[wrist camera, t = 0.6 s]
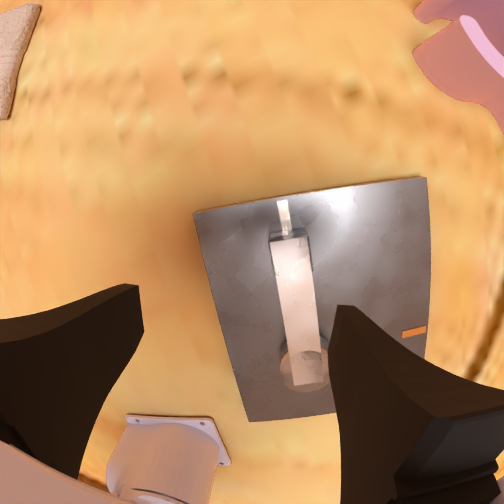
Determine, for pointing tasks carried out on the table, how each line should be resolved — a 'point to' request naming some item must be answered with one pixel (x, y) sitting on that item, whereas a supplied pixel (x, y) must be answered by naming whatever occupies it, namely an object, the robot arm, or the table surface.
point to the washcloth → (13, 49)
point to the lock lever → (298, 312)
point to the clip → (466, 51)
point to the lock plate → (317, 277)
